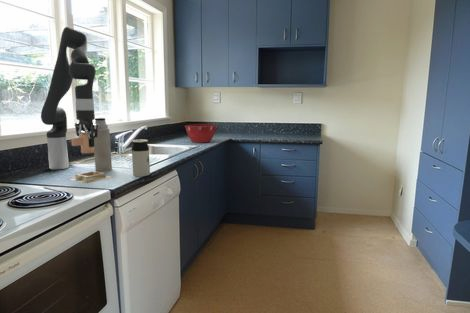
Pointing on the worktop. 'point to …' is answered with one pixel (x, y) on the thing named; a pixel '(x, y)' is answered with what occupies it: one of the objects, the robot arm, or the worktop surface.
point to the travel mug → (140, 158)
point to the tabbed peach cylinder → (83, 143)
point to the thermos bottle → (102, 146)
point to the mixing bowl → (200, 132)
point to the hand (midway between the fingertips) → (87, 146)
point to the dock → (90, 177)
